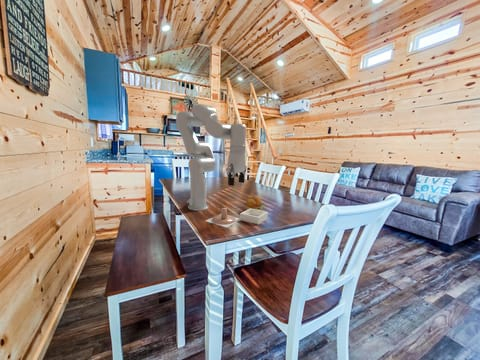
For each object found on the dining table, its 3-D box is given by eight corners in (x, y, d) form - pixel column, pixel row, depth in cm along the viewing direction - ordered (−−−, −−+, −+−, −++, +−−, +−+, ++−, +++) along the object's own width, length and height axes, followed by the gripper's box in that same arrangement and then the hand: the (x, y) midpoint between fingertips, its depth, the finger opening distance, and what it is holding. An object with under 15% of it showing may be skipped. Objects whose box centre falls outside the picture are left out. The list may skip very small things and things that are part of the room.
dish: (239, 220, 112) (240, 213, 111) (250, 214, 121) (250, 208, 120) (258, 225, 106) (258, 217, 105) (267, 219, 115) (268, 212, 114)
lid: (207, 220, 109) (207, 209, 108) (221, 214, 119) (222, 203, 118) (226, 226, 102) (226, 213, 101) (239, 219, 112) (240, 207, 111)
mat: (204, 221, 108) (204, 220, 108) (221, 214, 120) (221, 213, 120) (226, 228, 101) (226, 227, 101) (242, 219, 113) (242, 219, 113)
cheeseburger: (266, 209, 131) (265, 195, 127) (258, 218, 122) (257, 203, 118) (251, 206, 136) (250, 192, 132) (243, 215, 127) (242, 200, 123)
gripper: (240, 149, 112) (239, 180, 115) (220, 149, 98) (220, 185, 101) (252, 149, 108) (251, 182, 111) (234, 150, 94) (233, 187, 97)
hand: (236, 183), depth 106 cm, fingers open, 9 cm apart
